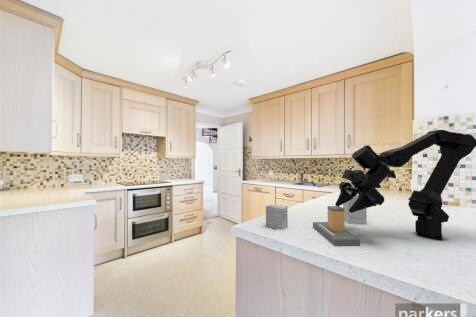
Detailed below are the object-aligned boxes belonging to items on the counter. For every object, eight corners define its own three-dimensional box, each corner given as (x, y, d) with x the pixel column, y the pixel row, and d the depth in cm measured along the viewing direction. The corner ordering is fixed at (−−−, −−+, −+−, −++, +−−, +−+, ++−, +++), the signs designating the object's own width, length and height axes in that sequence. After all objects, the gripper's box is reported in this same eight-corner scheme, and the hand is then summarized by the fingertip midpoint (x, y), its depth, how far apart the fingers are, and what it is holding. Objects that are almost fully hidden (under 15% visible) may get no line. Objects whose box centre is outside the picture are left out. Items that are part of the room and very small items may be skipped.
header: (332, 228, 82) (332, 221, 82) (360, 247, 64) (360, 238, 64) (313, 228, 82) (312, 221, 82) (335, 247, 64) (334, 238, 64)
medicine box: (288, 228, 82) (288, 206, 82) (282, 231, 79) (282, 208, 79) (271, 224, 88) (271, 203, 88) (265, 226, 84) (265, 205, 84)
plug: (338, 233, 75) (338, 205, 75) (344, 237, 71) (344, 208, 71) (327, 233, 75) (327, 206, 75) (333, 237, 71) (332, 208, 71)
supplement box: (367, 225, 85) (367, 195, 85) (347, 224, 87) (347, 194, 87) (360, 220, 92) (360, 192, 92) (342, 219, 94) (342, 192, 94)
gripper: (343, 161, 83) (316, 189, 82) (375, 162, 64) (340, 197, 64) (362, 181, 83) (335, 208, 82) (399, 187, 64) (365, 222, 64)
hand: (342, 208), depth 73 cm, fingers open, 9 cm apart
